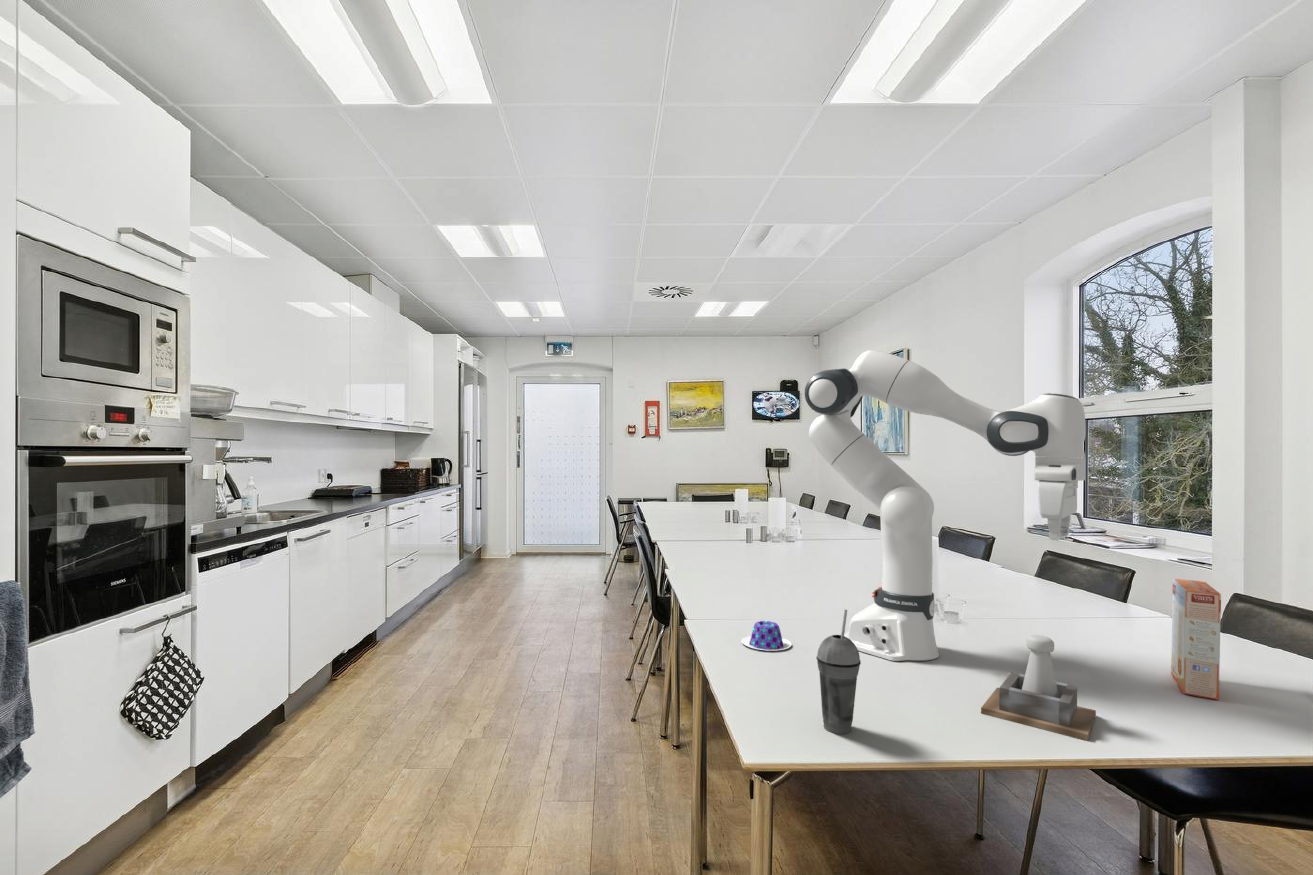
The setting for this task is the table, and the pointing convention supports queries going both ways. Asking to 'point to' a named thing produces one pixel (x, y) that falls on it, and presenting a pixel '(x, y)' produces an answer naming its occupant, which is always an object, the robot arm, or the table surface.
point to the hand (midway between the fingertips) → (1059, 537)
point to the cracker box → (1196, 638)
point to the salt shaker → (1040, 667)
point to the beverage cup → (838, 680)
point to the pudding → (766, 637)
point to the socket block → (1041, 708)
